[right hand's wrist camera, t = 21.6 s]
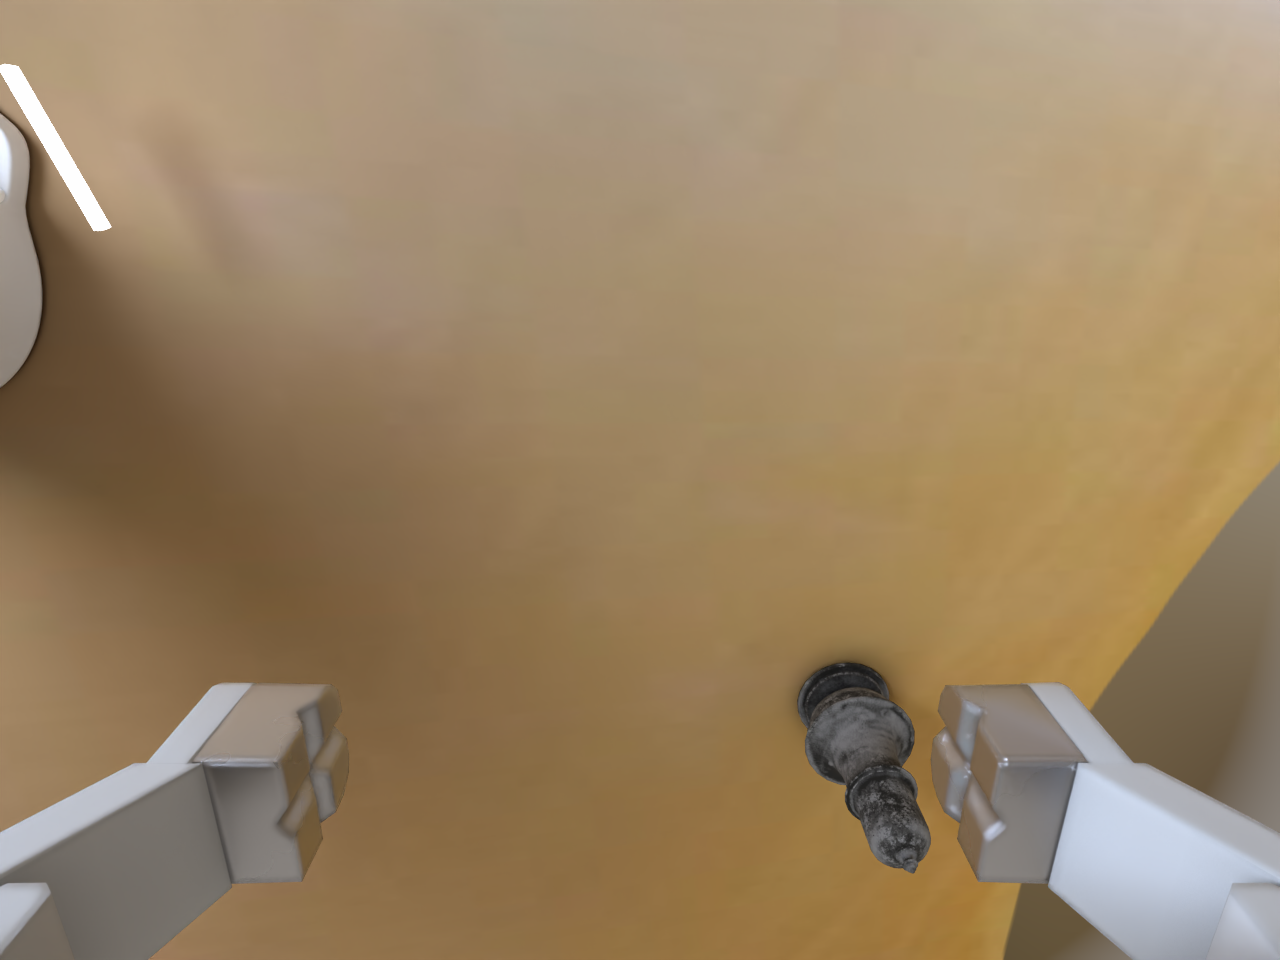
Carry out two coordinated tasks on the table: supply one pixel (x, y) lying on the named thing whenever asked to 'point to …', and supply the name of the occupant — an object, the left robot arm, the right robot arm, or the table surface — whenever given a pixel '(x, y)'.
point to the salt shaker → (866, 758)
